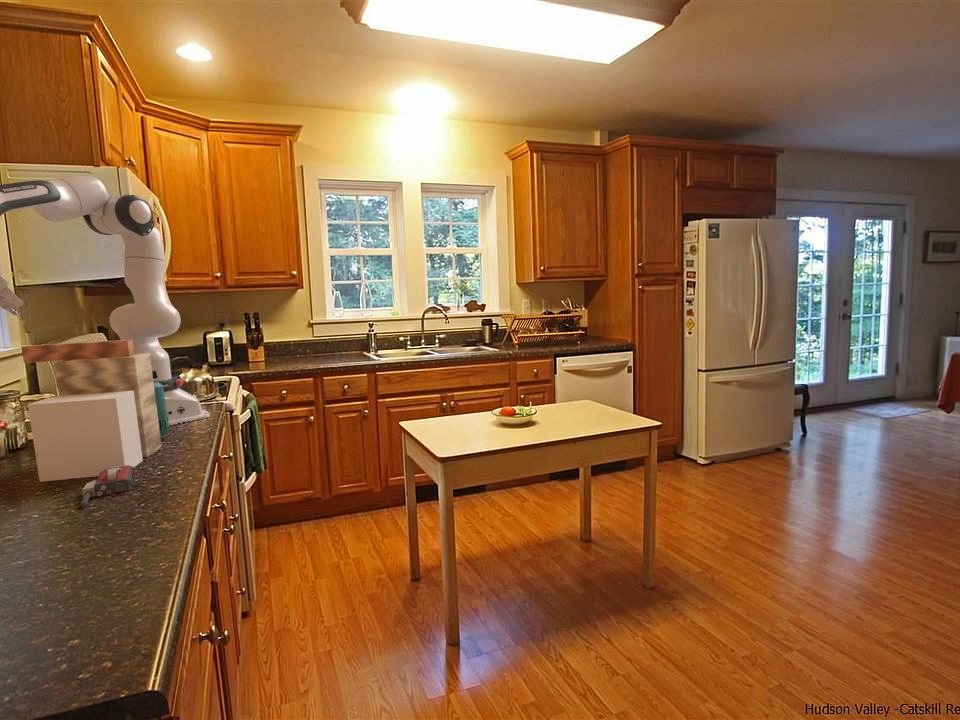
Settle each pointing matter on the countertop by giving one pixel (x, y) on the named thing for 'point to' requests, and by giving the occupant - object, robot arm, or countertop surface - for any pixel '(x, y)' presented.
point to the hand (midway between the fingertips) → (20, 309)
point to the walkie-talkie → (109, 482)
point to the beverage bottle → (161, 406)
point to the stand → (116, 388)
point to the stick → (77, 351)
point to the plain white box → (84, 434)
